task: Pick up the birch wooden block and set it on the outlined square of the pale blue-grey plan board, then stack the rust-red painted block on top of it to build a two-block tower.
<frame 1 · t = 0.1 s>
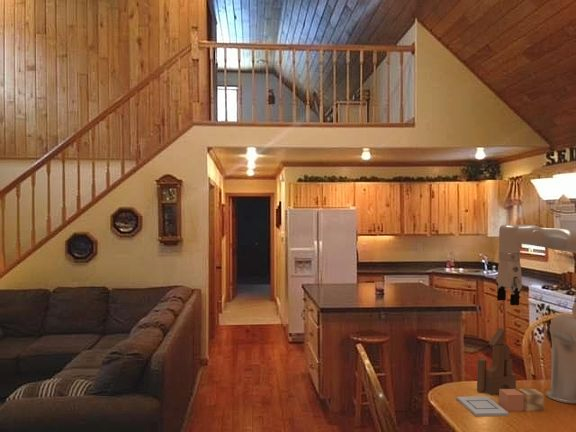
hand: (507, 302, 197), 37 cm above the table, tool pointing down, fingers open, 9 cm apart
plan board: (481, 407, 188), on the table
birch block: (530, 408, 189), on the table
rust block: (510, 408, 188), on the table
wooden toy: (495, 391, 206), on the table
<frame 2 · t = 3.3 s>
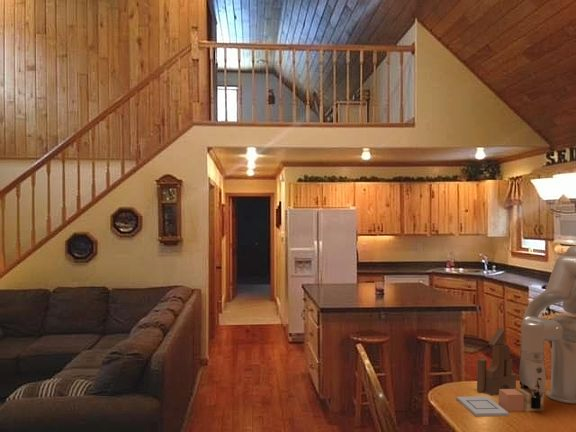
hand: (530, 404, 189), 1 cm above the table, tool pointing down, fingers closed on birch block, 6 cm apart
birch block: (530, 407, 189), on the table, touching gripper
everything else where it was.
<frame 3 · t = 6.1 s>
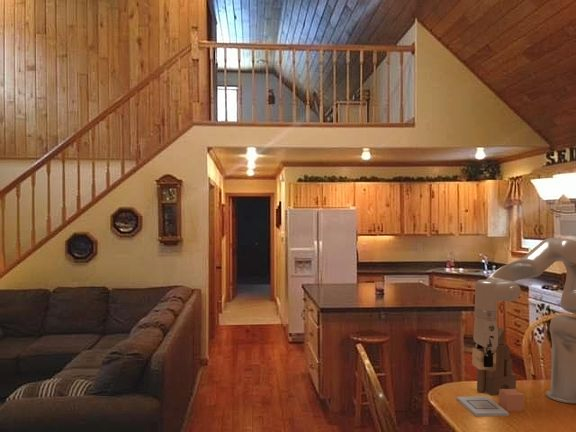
hand: (483, 363, 188), 16 cm above the table, tool pointing down, fingers closed on birch block, 6 cm apart
birch block: (483, 367, 188), point 15 cm above the table, touching gripper
everything else where it was.
when the fingers open (3 cm above the table, at t = 9.0 s): birch block drops 1 cm, resting on plan board.
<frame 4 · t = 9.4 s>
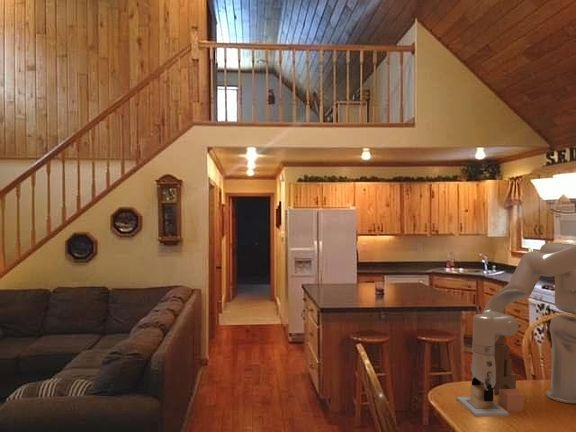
hand: (482, 396, 188), 4 cm above the table, tool pointing down, fingers open, 9 cm apart
birch block: (481, 404, 188), point 1 cm above the table, touching plan board
everything else where it was.
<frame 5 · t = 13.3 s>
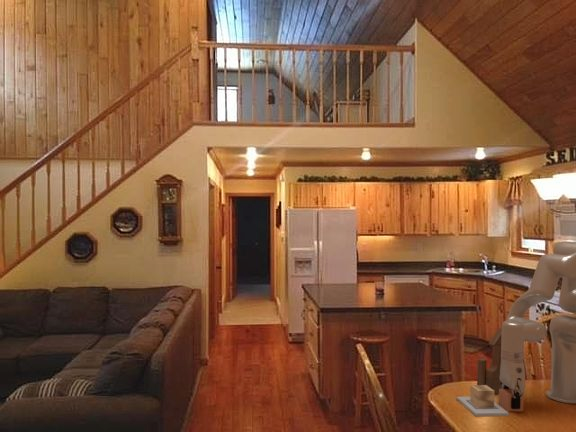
hand: (510, 404, 188), 1 cm above the table, tool pointing down, fingers closed on rust block, 6 cm apart
rust block: (510, 408, 188), on the table, touching gripper
everything else where it was.
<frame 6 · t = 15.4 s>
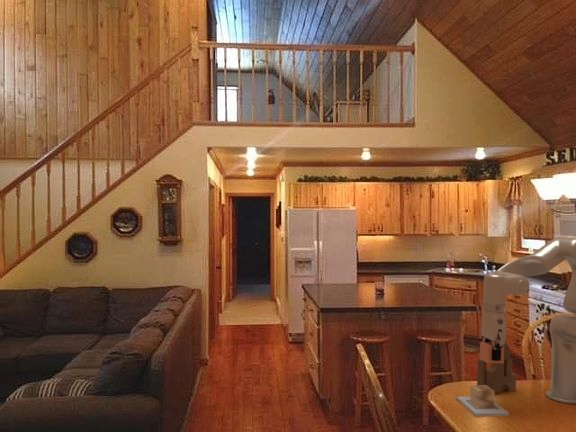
hand: (491, 357, 187), 18 cm above the table, tool pointing down, fingers closed on rust block, 6 cm apart
rust block: (491, 360, 187), point 17 cm above the table, touching gripper
everything else where it was.
when the fingers open (9 cm above the table, at t = 18.0 s): rust block drops 1 cm, resting on birch block.
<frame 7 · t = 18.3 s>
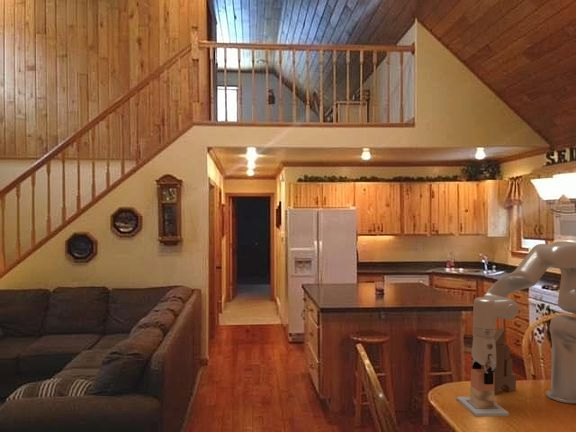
hand: (482, 379, 188), 10 cm above the table, tool pointing down, fingers open, 8 cm apart
birch block: (481, 404, 188), point 1 cm above the table, touching plan board, rust block
rust block: (482, 388, 188), point 7 cm above the table, touching birch block
everything else where it was.
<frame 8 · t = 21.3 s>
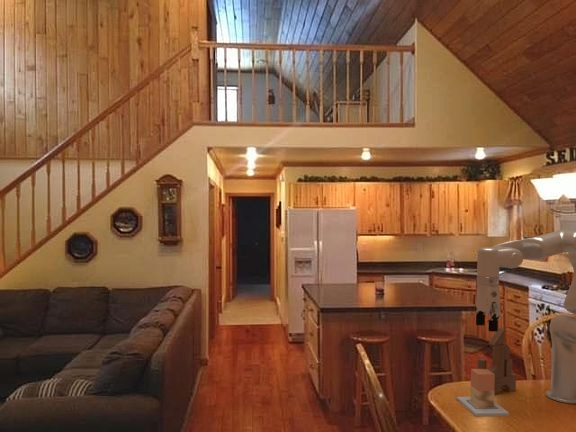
hand: (486, 328, 190), 28 cm above the table, tool pointing down, fingers open, 9 cm apart
nothing on the table moved.
at the end: birch block 0.1 cm off-centre on the plan board, point 1.0 cm above the plan board's base; rust block 0.0 cm off-centre on the birch block, point 6.0 cm above the birch block's base; rust block tilted 0° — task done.
